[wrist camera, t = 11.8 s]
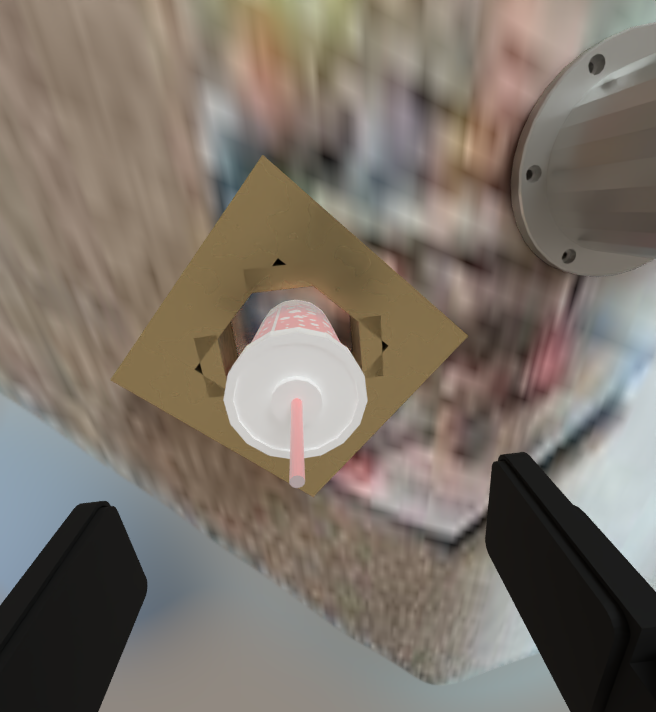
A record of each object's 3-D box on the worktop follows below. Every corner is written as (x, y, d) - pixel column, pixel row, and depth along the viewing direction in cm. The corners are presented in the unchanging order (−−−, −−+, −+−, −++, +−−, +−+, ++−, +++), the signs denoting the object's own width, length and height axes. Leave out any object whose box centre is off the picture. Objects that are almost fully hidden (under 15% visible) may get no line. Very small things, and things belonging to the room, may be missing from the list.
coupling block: (268, 164, 20) (262, 154, 16) (441, 316, 24) (468, 336, 21) (139, 353, 24) (110, 380, 20) (310, 458, 28) (313, 497, 24)
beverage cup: (271, 388, 25) (244, 578, 12) (232, 307, 23) (151, 434, 10) (355, 358, 25) (419, 520, 12) (324, 273, 23) (363, 359, 10)
